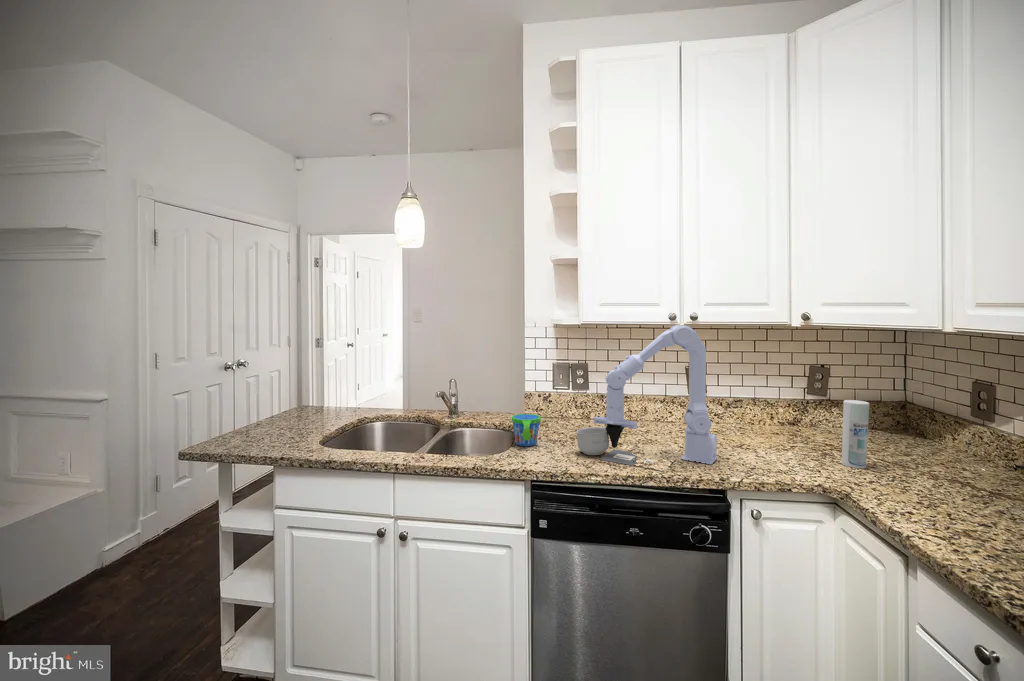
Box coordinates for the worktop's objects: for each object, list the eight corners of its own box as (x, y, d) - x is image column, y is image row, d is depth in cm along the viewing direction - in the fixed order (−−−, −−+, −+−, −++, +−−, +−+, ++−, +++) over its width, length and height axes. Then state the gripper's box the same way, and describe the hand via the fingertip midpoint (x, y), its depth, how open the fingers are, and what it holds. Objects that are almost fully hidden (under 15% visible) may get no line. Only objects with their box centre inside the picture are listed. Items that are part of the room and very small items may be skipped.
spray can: (856, 462, 150) (859, 399, 149) (871, 468, 144) (874, 403, 143) (836, 462, 150) (838, 399, 149) (850, 468, 144) (853, 403, 143)
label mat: (676, 460, 152) (676, 459, 152) (663, 471, 141) (663, 470, 141) (614, 449, 164) (614, 449, 164) (598, 459, 153) (598, 458, 153)
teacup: (596, 459, 152) (595, 434, 151) (570, 453, 160) (569, 430, 159) (621, 450, 161) (620, 427, 161) (595, 445, 169) (594, 423, 169)
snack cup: (514, 438, 179) (514, 411, 179) (541, 439, 178) (541, 412, 177) (509, 450, 164) (509, 421, 163) (539, 451, 163) (539, 421, 162)
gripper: (589, 406, 157) (589, 446, 157) (632, 411, 149) (631, 453, 149) (598, 402, 163) (598, 441, 163) (639, 407, 154) (639, 448, 155)
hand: (614, 447), depth 157 cm, fingers closed
